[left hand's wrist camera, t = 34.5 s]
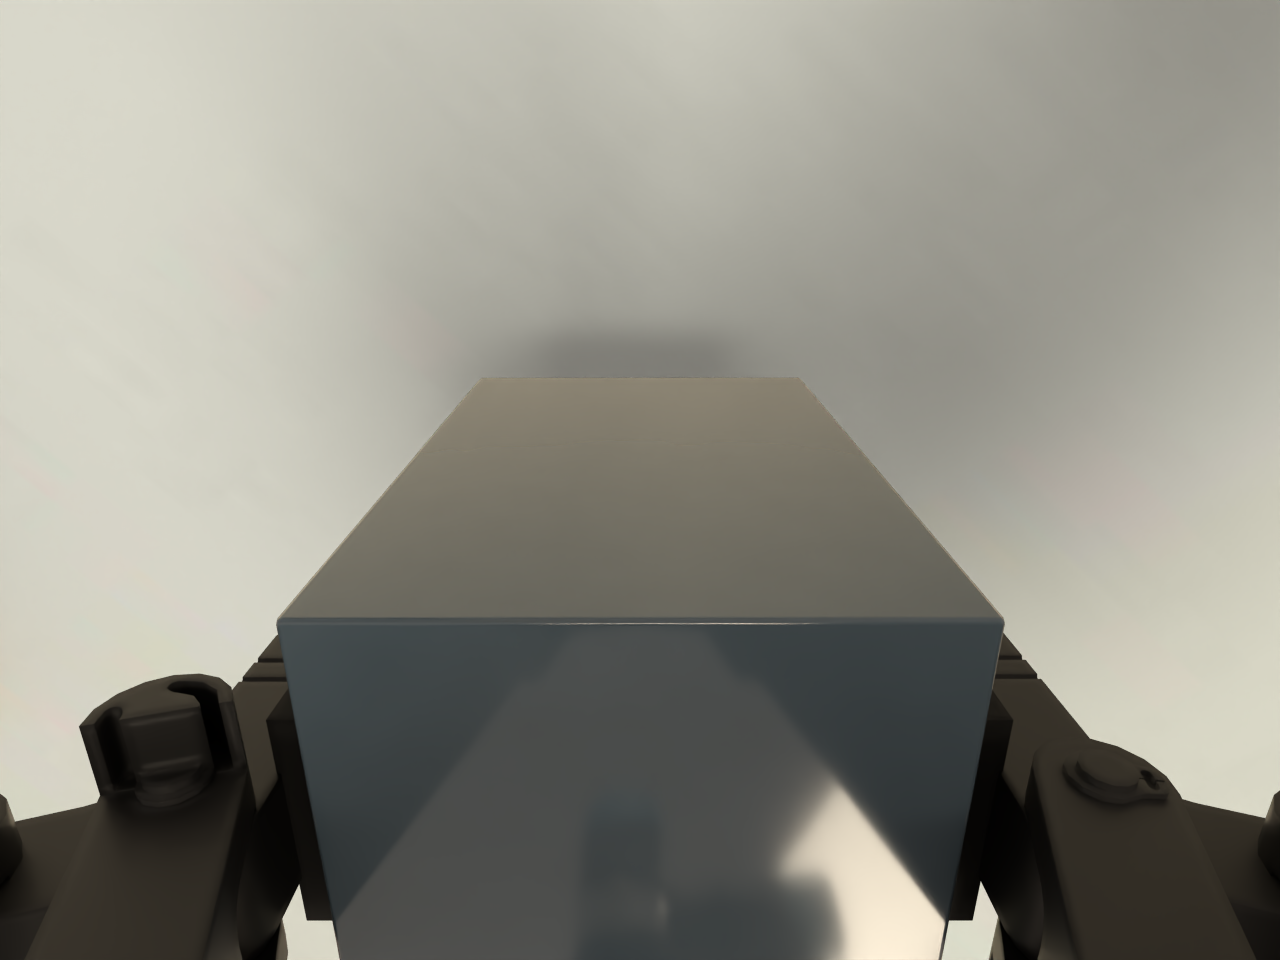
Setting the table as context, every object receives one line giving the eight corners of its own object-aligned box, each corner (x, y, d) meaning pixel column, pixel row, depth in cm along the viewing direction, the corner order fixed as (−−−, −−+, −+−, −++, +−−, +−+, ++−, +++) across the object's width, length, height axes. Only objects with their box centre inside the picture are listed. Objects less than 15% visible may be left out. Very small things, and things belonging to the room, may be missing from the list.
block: (800, 376, 14) (1008, 618, 6) (780, 655, 16) (916, 1108, 8) (479, 376, 14) (271, 620, 6) (500, 656, 16) (365, 1108, 8)
